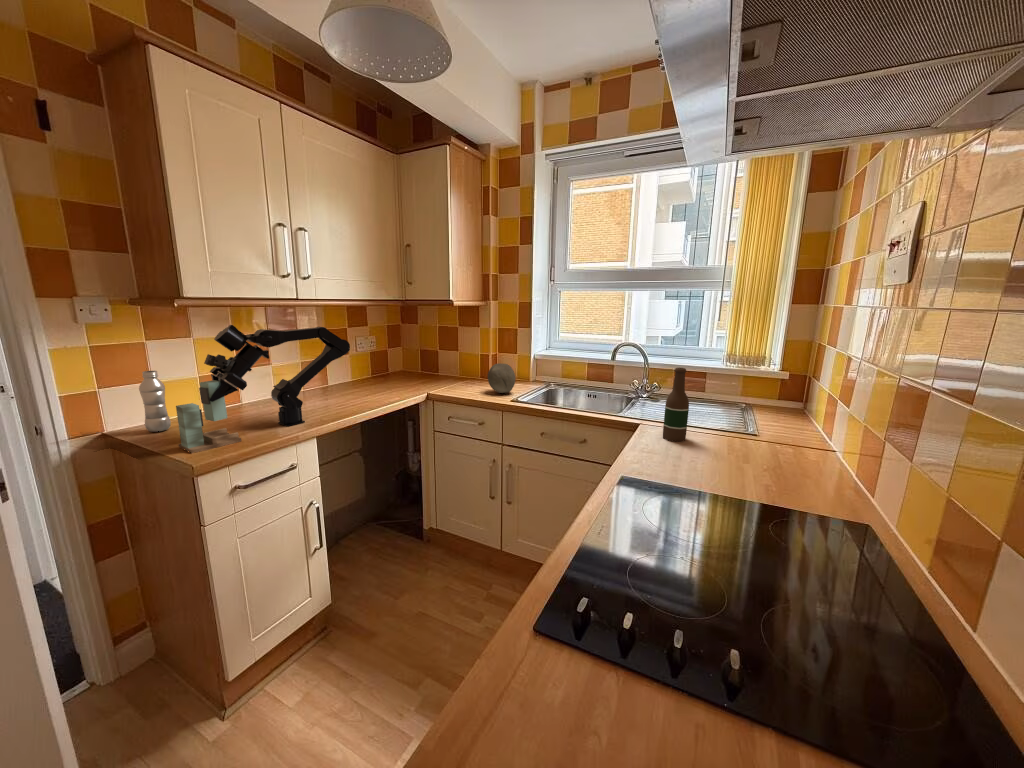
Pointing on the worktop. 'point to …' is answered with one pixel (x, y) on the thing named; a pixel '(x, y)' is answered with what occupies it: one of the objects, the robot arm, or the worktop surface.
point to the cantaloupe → (501, 378)
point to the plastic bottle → (154, 402)
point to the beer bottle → (676, 410)
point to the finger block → (212, 409)
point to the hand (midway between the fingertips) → (208, 399)
